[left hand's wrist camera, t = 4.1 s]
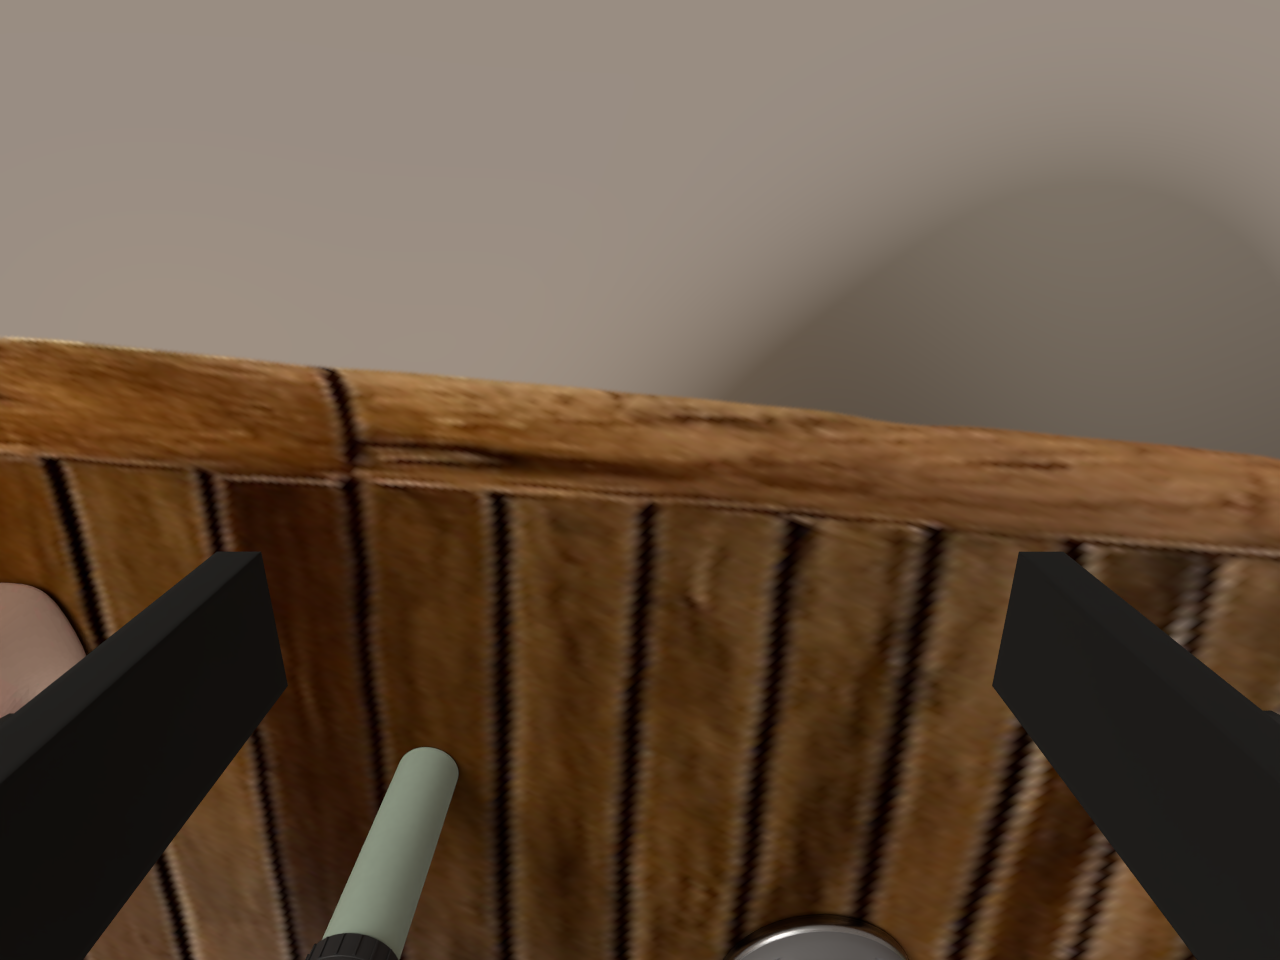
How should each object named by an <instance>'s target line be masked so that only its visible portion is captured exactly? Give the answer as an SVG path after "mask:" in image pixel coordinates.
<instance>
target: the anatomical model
mask: <svg viewBox="0 0 1280 960" xmlns="http://www.w3.org/2000/svg"><path fill="white" fill-rule="evenodd" d="M85 656H86V654H85V651H84V649H83V646H82V644H81V642H80V640H79V639H78V637H77V635H76V633H75V631H74V629H73V628H72V626H71V624H70V623H69V621H68V619H67V618H66V616H65V615H64V613H63V612H62V611H61V609H60V608H59V606H58V605H57V604H56V603H55V602H54V601H53V600H52V599H51V598H50V597H49V596H48V595H47V594H46V593H44V592H43V591H41V590H39V589H37V588H35V587H32V586H29V585H24V584H16V583H0V718H2V717H3V716H5V715H7V714H9V713H15V712H16V711H18V710H19V709H20V708H21V707H23V706H24V705H25V704H27V703H28V702H29V701H30V700H32V699H33V698H34V697H35V696H37V695H38V694H39V693H40V692H42V691H43V690H44V689H45V688H47V687H48V686H49V685H50V684H52V683H53V682H54V681H55V680H57V679H58V678H59V677H60V676H62V675H63V674H64V673H65V672H67V671H68V670H69V669H70V668H72V667H73V666H74V665H75V664H77V663H78V662H79V661H80V660H82V659H83V658H84V657H85Z"/></svg>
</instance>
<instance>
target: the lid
mask: <svg viewBox="0 0 1280 960" xmlns="http://www.w3.org/2000/svg"><path fill="white" fill-rule="evenodd" d="M305 960H398V958H397V956H396V954H395V953H394V952H393V951H392V949H390V948H389V947H388V946H387V945H386V944H384V943H383V942H381V941H379V940H377V939H375V938H373V937H370V936H367V935H363V934H357V933H341V934H335V935H332V936H329V937H328V936H327V937H326V938H324V939H323V940H321V941H320V942H318V943H317V944H314V946H313V948H312V950H311V952H310V954H308V955H307V957H306V959H305Z"/></svg>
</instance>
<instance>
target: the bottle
mask: <svg viewBox="0 0 1280 960" xmlns="http://www.w3.org/2000/svg"><path fill="white" fill-rule="evenodd" d="M457 780H458V768H457V765H456V763H455V761H454V760H453V759H452V758H451V757H450V756H449V755H448V754H447V753H445V752H443V751H441V750H439V749H436V748H431V747H421V748H416V749H414V750H411V751H409V752H408V753H407V754H405V755H404V756H403V758H402V759H401V761H400V763H399V765H398V768H397V770H396V772H395V775H394V777H393V779H392V781H391V784H390V786H389V788H388V790H387V793H386V795H385V797H384V800H383V802H382V804H381V806H380V809H379V811H378V813H377V816H376V818H375V820H374V822H373V825H372V827H371V829H370V832H369V834H368V836H367V838H366V841H365V843H364V845H363V848H362V850H361V852H360V854H359V857H358V859H357V861H356V863H355V866H354V868H353V870H352V873H351V875H350V877H349V879H348V882H347V884H346V886H345V889H344V891H343V893H342V895H341V898H340V900H339V902H338V905H337V907H336V909H335V911H334V914H333V916H332V918H331V921H330V923H329V925H328V927H327V930H326V932H325V934H324V936H323V939H324V938H326V937H327V936H328V937H329V936H332V935H335V934H341V933H357V934H363V935H367V936H370V937H373V938H375V939H377V940H379V941H381V942H383V943H384V944H386V945H387V946H388V947H389V948H390V949H392V951H393V952H394V953H395V954H396V956H397V958H398V960H399V959H400V956H401V953H402V950H403V947H404V944H405V941H406V938H407V935H408V931H409V928H410V925H411V922H412V919H413V916H414V913H415V910H416V907H417V904H418V900H419V897H420V894H421V891H422V888H423V885H424V882H425V879H426V876H427V873H428V869H429V866H430V863H431V860H432V857H433V854H434V851H435V848H436V845H437V842H438V839H439V835H440V832H441V829H442V826H443V823H444V820H445V817H446V814H447V811H448V808H449V804H450V801H451V798H452V795H453V792H454V789H455V786H456V783H457ZM323 939H322V940H323Z"/></svg>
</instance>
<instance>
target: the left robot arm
mask: <svg viewBox="0 0 1280 960" xmlns="http://www.w3.org/2000/svg"><path fill="white" fill-rule="evenodd" d="M287 686H288V685H287V680H286V675H285V670H284V665H283V659H282V654H281V649H280V644H279V639H278V634H277V629H276V624H275V619H274V614H273V609H272V604H271V599H270V594H269V589H268V584H267V579H266V574H265V569H264V564H263V559H262V554H261V552H216V553H215V554H213V555H212V556H211V557H210V558H208V559H207V560H206V561H205V562H203V563H202V564H201V565H200V566H198V567H197V568H196V569H195V570H193V571H192V572H191V573H190V574H188V575H187V576H186V577H185V578H183V579H182V580H181V581H180V582H178V583H177V584H176V585H175V586H173V587H172V588H171V589H170V590H168V591H167V592H166V593H165V594H163V595H162V596H161V597H159V598H158V599H157V600H156V601H154V602H153V603H152V604H151V605H149V606H148V607H147V608H146V609H144V610H143V611H142V612H141V613H139V614H138V615H137V616H136V617H134V618H133V619H132V620H131V621H129V622H128V623H127V624H126V625H124V626H123V627H122V628H121V629H119V630H118V631H117V632H116V633H114V634H113V635H112V636H111V637H109V638H108V639H107V640H106V641H104V642H103V643H102V644H101V645H99V646H98V647H97V648H96V649H94V650H93V651H92V652H90V653H89V654H88V655H87V656H85V657H84V658H83V659H82V660H80V661H79V662H78V663H77V664H75V665H74V666H73V667H72V668H70V669H69V670H68V671H67V672H65V673H64V674H63V675H62V676H60V677H59V678H58V679H57V680H55V681H54V682H53V683H52V684H50V685H49V686H48V687H47V688H45V689H44V690H43V691H42V692H40V693H39V694H38V695H37V696H35V697H34V698H33V699H32V700H30V701H29V702H28V703H27V704H25V705H24V706H23V707H21V708H20V709H19V710H18V711H16V712H15V713H9V714H7V715H5V716H3V717H2V718H0V960H83V959H84V958H85V956H86V955H87V954H88V952H89V951H90V950H91V948H92V947H93V946H94V944H95V943H96V941H97V940H98V939H99V937H100V936H101V935H102V933H103V932H104V931H105V929H106V928H107V927H108V925H109V924H110V923H111V921H112V920H113V919H114V917H115V916H116V915H117V913H118V912H119V911H120V909H121V908H122V907H123V905H124V904H125V903H126V901H127V900H128V899H129V897H130V896H131V895H132V893H133V892H134V891H135V889H136V888H137V887H138V885H139V884H140V883H141V881H142V880H143V879H144V877H145V876H146V875H147V873H148V872H149V871H150V869H151V868H152V867H153V865H154V864H155V863H156V861H157V860H158V859H159V857H160V856H161V855H162V853H163V852H164V851H165V849H166V848H167V847H168V845H169V844H170V843H171V841H172V840H173V838H174V837H175V836H176V834H177V833H178V832H179V830H180V829H181V828H182V826H183V825H184V824H185V822H186V821H187V820H188V818H189V817H190V816H191V814H192V813H193V812H194V810H195V809H196V808H197V806H198V805H199V804H200V802H201V801H202V800H203V798H204V797H205V796H206V794H207V793H208V792H209V790H210V789H211V788H212V786H213V785H214V784H215V782H216V781H217V780H218V778H219V777H220V776H221V774H222V773H223V772H224V770H225V769H226V768H227V766H228V765H229V764H230V762H231V761H232V760H233V758H234V757H235V756H236V754H237V753H238V752H239V750H240V749H241V748H242V746H243V745H244V744H245V742H246V741H247V740H248V738H249V737H250V735H251V734H252V733H253V731H254V730H255V729H256V727H257V726H258V725H259V723H260V722H261V721H262V719H263V718H264V717H265V715H266V714H267V713H268V711H269V710H270V709H271V707H272V706H273V705H274V703H275V702H276V701H277V699H278V698H279V697H280V695H281V694H282V693H283V691H284V690H285V689H286V687H287ZM992 686H993V687H994V689H995V690H996V691H997V693H998V694H999V695H1000V697H1001V698H1002V699H1003V701H1004V702H1005V703H1006V705H1007V706H1008V707H1009V709H1010V710H1011V711H1012V713H1013V714H1014V715H1015V717H1016V718H1017V719H1018V721H1019V722H1020V723H1021V725H1022V726H1023V727H1024V729H1025V730H1026V731H1027V733H1028V734H1029V736H1030V737H1031V738H1032V740H1033V741H1034V742H1035V744H1036V745H1037V746H1038V748H1039V749H1040V750H1041V752H1042V753H1043V754H1044V756H1045V757H1046V758H1047V760H1048V761H1049V762H1050V764H1051V765H1052V766H1053V768H1054V769H1055V770H1056V772H1057V773H1058V774H1059V776H1060V777H1061V778H1062V780H1063V781H1064V782H1065V784H1066V785H1067V786H1068V788H1069V789H1070V790H1071V792H1072V793H1073V794H1074V796H1075V797H1076V798H1077V800H1078V801H1079V802H1080V804H1081V805H1082V806H1083V808H1084V809H1085V810H1086V812H1087V813H1088V814H1089V816H1090V817H1091V818H1092V820H1093V821H1094V822H1095V824H1096V825H1097V826H1098V828H1099V829H1100V830H1101V832H1102V833H1103V834H1104V836H1105V837H1106V838H1107V840H1108V841H1109V843H1110V844H1111V845H1112V847H1113V848H1114V849H1115V851H1116V852H1117V853H1118V855H1119V856H1120V857H1121V859H1122V860H1123V861H1124V863H1125V864H1126V865H1127V867H1128V868H1129V869H1130V871H1131V872H1132V873H1133V875H1134V876H1135V877H1136V879H1137V880H1138V881H1139V883H1140V884H1141V885H1142V887H1143V888H1144V889H1145V891H1146V892H1147V893H1148V895H1149V896H1150V897H1151V899H1152V900H1153V901H1154V903H1155V904H1156V905H1157V907H1158V908H1159V909H1160V911H1161V912H1162V913H1163V915H1164V916H1165V917H1166V919H1167V920H1168V921H1169V923H1170V924H1171V925H1172V927H1173V928H1174V929H1175V931H1176V932H1177V933H1178V935H1179V936H1180V937H1181V939H1182V940H1183V941H1184V943H1185V944H1186V946H1187V947H1188V948H1189V950H1190V951H1191V952H1192V954H1193V955H1194V956H1195V958H1196V959H1197V960H1280V715H1279V714H1277V713H1275V712H1273V711H1262V710H1261V709H1260V708H1259V707H1257V706H1256V705H1255V704H1253V703H1252V702H1251V701H1250V700H1248V699H1247V698H1246V697H1245V696H1243V695H1242V694H1241V693H1240V692H1238V691H1237V690H1236V689H1235V688H1233V687H1232V686H1231V685H1230V684H1228V683H1227V682H1226V681H1225V680H1223V679H1222V678H1221V677H1220V676H1218V675H1217V674H1216V673H1215V672H1213V671H1212V670H1211V669H1210V668H1208V667H1207V666H1206V665H1205V664H1203V663H1202V662H1201V661H1200V660H1198V659H1197V658H1196V657H1195V656H1193V655H1192V654H1191V653H1190V652H1188V651H1187V650H1186V649H1184V648H1183V647H1182V646H1181V645H1179V644H1178V643H1177V642H1176V641H1174V640H1173V639H1172V638H1171V637H1169V636H1168V635H1167V634H1166V633H1164V632H1163V631H1162V630H1161V629H1159V628H1158V627H1157V626H1156V625H1154V624H1153V623H1152V622H1151V621H1149V620H1148V619H1147V618H1146V617H1144V616H1143V615H1142V614H1141V613H1139V612H1138V611H1137V610H1136V609H1134V608H1133V607H1132V606H1131V605H1129V604H1128V603H1127V602H1126V601H1124V600H1123V599H1122V598H1121V597H1119V596H1118V595H1117V594H1115V593H1114V592H1113V591H1112V590H1110V589H1109V588H1108V587H1107V586H1105V585H1104V584H1103V583H1102V582H1100V581H1099V580H1098V579H1097V578H1095V577H1094V576H1093V575H1092V574H1090V573H1089V572H1088V571H1087V570H1085V569H1084V568H1083V567H1082V566H1080V565H1079V564H1078V563H1077V562H1075V561H1074V560H1073V559H1072V558H1070V557H1069V556H1068V555H1067V554H1065V553H1064V552H1019V554H1018V559H1017V564H1016V569H1015V574H1014V579H1013V584H1012V589H1011V594H1010V599H1009V604H1008V609H1007V614H1006V619H1005V624H1004V629H1003V634H1002V639H1001V644H1000V649H999V654H998V659H997V664H996V670H995V675H994V680H993V685H992ZM724 960H909V959H908V957H907V955H906V953H905V952H904V950H903V949H902V947H901V946H900V945H899V944H898V943H897V941H895V940H894V939H893V938H892V937H891V936H890V935H888V934H887V933H886V932H884V931H882V930H881V929H879V928H877V927H875V926H873V925H871V924H869V923H866V922H863V921H861V920H857V919H853V918H849V917H844V916H836V915H807V916H799V917H793V918H789V919H785V920H781V921H778V922H775V923H772V924H770V925H767V926H765V927H762V928H761V929H759V930H757V931H755V932H753V933H751V934H750V935H748V936H747V937H745V938H744V939H743V940H741V941H740V942H739V943H738V944H737V945H736V946H734V947H733V948H732V949H731V951H730V952H729V953H728V954H727V955H726V957H725V958H724Z"/></svg>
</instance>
